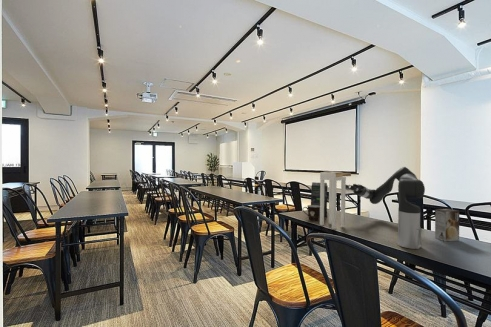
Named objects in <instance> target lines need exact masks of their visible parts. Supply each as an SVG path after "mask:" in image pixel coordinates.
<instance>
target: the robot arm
mask: <svg viewBox="0 0 491 327" xmlns="http://www.w3.org/2000/svg"><path fill="white" fill-rule="evenodd" d="M395 180H397V181H398V184H397V187H398V188H397V191H398V194H397V195H398V213H397V214H398V215H397V218H398V220H397V245H398V246H399V247H402V248H405V249H406V248H407V249H411V250H419V249H420V248H421V247H422V245H421V244H422V227H421V207H420V206H419V205H416V204H413V203H411V202H410V201H408V200H407V199H421V198H423V197H424V195H425V191H426V188H425V184H424V182H423V181H422V180H421V179H418V177H417V175H416V174H415V173H414V172H412V171H411V170H410V169H409V168H408V167H406V166H402V167H400V168H399V169H398V170H396V171H395V172H394V173H393V174H392V175H391V176H389V177H388V179H387V180H386V181H385V182H384V183H383V184H380V185H379V187H377V188H376V189H371V188H368V187H366V186H364V185H363V184H359V183H358V184H356V183H352V184H346V188H345V191H352V192H353V193H354V194H355V195H356V196H357V197H358V196H359V197H361V198H364V199H367V200H369V202H370V203H371V204H372V205H377V204H379V203H380V202H382V200H383V199H384V197H385V196H387V195H388V194H390V193H391V192H392V190H393V188H394V182H395Z"/></svg>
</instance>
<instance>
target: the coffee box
mask: <svg viewBox="0 0 491 327" xmlns="http://www.w3.org/2000/svg"><path fill="white" fill-rule="evenodd" d="M434 214H435V215H434V223H435V224H434V238H435V239H436V240H439V241H443V240H444V241H443V242H453V241H460V210H457V209H450V208H439V209H438V208H436V209H434Z"/></svg>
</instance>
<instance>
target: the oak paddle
mask: <svg viewBox="0 0 491 327" xmlns="http://www.w3.org/2000/svg"><path fill="white" fill-rule="evenodd" d="M323 172H324V173H336V177H351V176H352V174H351V172H342V171H332V170H331V171H323Z"/></svg>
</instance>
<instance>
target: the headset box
mask: <svg viewBox="0 0 491 327" xmlns="http://www.w3.org/2000/svg"><path fill="white" fill-rule="evenodd" d="M328 188H329V185H328V183H327V182H324V217H326V218H328V215H327V214H328ZM310 205H318V206H320V182H316V181H315V182H314V181H313V182H311V187H310ZM319 218H320V211H319Z"/></svg>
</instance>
